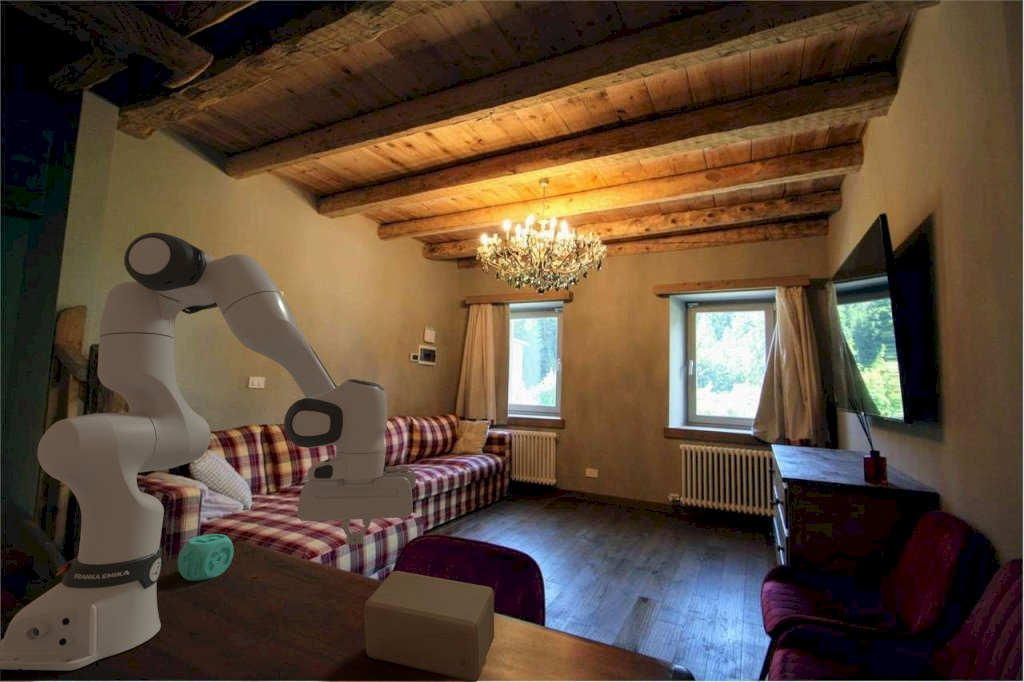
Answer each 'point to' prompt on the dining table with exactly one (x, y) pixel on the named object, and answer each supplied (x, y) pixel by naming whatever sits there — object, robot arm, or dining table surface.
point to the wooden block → (430, 624)
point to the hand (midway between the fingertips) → (355, 543)
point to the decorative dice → (205, 557)
